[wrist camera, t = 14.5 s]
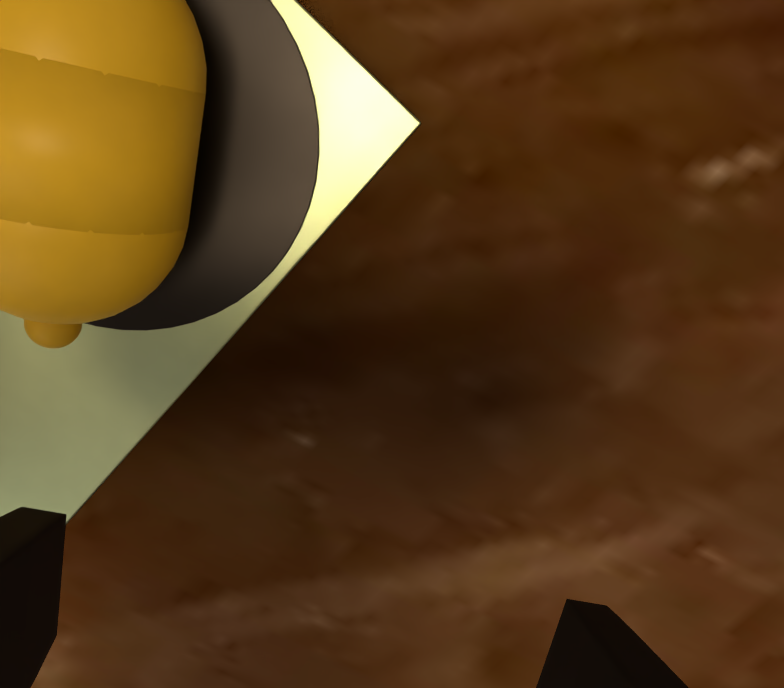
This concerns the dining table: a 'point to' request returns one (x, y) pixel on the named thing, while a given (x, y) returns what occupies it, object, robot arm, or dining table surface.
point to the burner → (240, 166)
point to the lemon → (94, 155)
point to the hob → (182, 343)
